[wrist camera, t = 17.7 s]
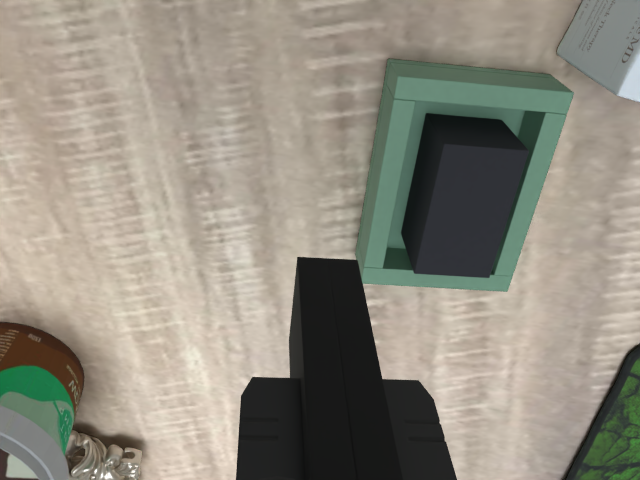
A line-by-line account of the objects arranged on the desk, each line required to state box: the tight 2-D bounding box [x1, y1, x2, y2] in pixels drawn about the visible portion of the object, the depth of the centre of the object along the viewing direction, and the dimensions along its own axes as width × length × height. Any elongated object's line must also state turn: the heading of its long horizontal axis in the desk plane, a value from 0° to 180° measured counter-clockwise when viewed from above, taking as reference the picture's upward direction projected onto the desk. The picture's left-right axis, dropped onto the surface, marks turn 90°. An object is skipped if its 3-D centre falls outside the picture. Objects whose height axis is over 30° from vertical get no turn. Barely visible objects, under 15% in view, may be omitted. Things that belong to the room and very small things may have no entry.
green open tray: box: [355, 59, 574, 292], centre depth 36 cm, size 13×9×3 cm
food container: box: [0, 322, 84, 480], centre depth 39 cm, size 12×6×10 cm, turn 1°
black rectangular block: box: [401, 113, 529, 278], centre depth 34 cm, size 8×4×4 cm, turn 174°
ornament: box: [65, 430, 142, 480], centre depth 47 cm, size 8×7×4 cm
